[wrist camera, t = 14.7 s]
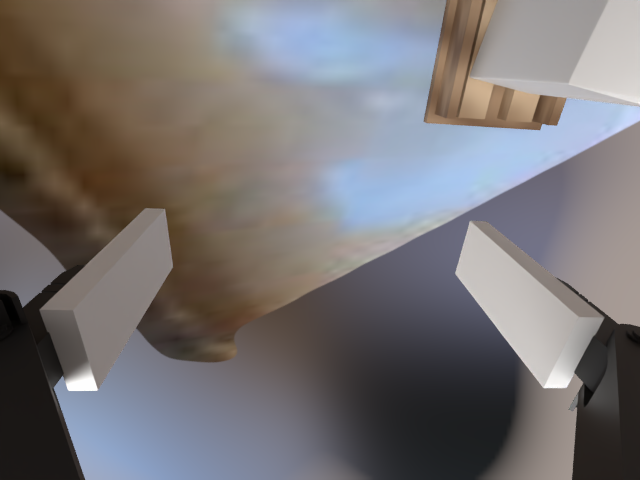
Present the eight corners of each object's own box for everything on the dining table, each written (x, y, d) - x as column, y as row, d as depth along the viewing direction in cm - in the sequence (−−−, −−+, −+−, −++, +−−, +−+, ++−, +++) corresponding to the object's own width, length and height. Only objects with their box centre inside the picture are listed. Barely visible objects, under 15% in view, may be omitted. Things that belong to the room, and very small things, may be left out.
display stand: (456, -49, 34) (477, -64, 30) (588, -35, 35) (626, -48, 31) (423, 121, 41) (437, 127, 37) (534, 128, 42) (559, 135, 38)
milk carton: (467, 77, 36) (617, 87, 20) (497, -2, 33) (704, -72, 17) (527, 93, 38) (718, 116, 21) (561, 18, 35) (816, -28, 18)
